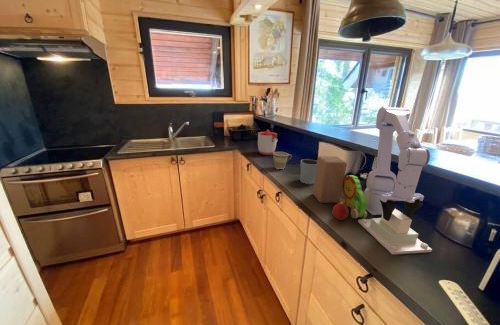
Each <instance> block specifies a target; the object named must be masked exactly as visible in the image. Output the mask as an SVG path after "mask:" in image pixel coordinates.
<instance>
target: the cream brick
mask: <svg viewBox="0 0 500 325" xmlns="http://www.w3.org/2000/svg"><path fill="white" fill-rule="evenodd" d="M380 216H381V217H380V218H381V220H382V221H383V222H384V223H385V224H387V225H388V226H389V227H390V228H392V229H393V230H394V231H395V232H397V233H408V231H409V228H411V225H412V221H413V220H412V218H409V217H407V216H406V215H404V214H403V212H401V211H400V210H398V209H396V208H395V209H394V211H393V212H392V215H391V218H390V220H389V221H387V220H385V219H384V218H383V212H382V215H380Z"/></svg>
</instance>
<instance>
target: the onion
mask: <svg viewBox="0 0 500 325" xmlns="http://www.w3.org/2000/svg"><path fill="white" fill-rule="evenodd" d="M332 214H333V216H334V217H335V218H336V220H338V221H341V220H342V221H343V220H345V219H346V218H348V216H349V208H348V206H346V205H345V204H344V203H343V202H340V203H339V202H338V203H336V204H335V205H334V206H333V207H332Z"/></svg>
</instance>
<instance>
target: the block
mask: <svg viewBox="0 0 500 325" xmlns="http://www.w3.org/2000/svg"><path fill="white" fill-rule="evenodd" d="M316 161H317V167H316V174H315V181H314V184H313V188H312V189H313V191H312V194H313V196H314V197H315V198H316V199H317V201H318V202H319V203H324V204H325V203H326V204H327V203H328V204H329V203H331V204H333V203H336V204H339V199H340V198H342V197H341V196H342V193H343V188H342V187H343V182H344V178H345V176H346V175H345V174H346V171H347V162H346V161H345V160H344V159H341V158H340V157H339V156H331V155H329V156H327V155H326V156H325V155H324V156H322V155H320V156H317V159H316Z"/></svg>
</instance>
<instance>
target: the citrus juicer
mask: <svg viewBox="0 0 500 325" xmlns="http://www.w3.org/2000/svg"><path fill="white" fill-rule="evenodd" d="M277 142H278V133H276V132H274V131H272V132H271V131H270V129H266V130H264V131H259V132H257V150H258V153H259V154H260V155H263V156H271V155H272V156H273V153H274V152H276V148H277Z"/></svg>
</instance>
